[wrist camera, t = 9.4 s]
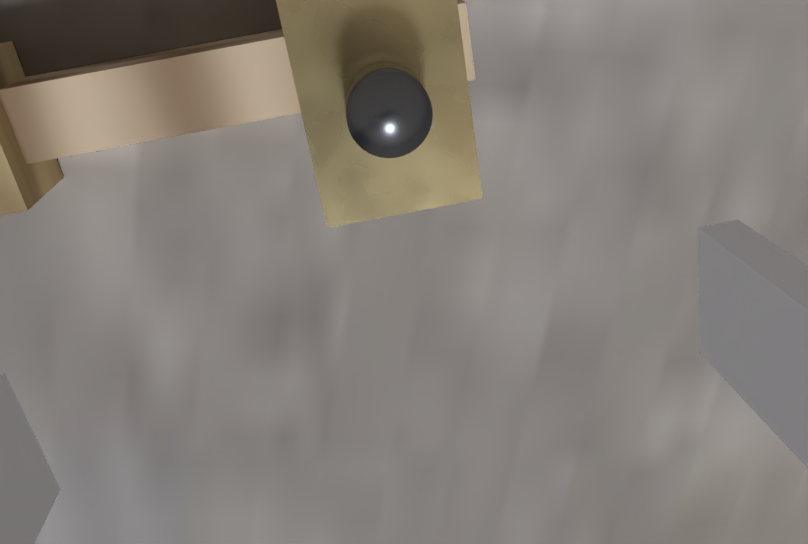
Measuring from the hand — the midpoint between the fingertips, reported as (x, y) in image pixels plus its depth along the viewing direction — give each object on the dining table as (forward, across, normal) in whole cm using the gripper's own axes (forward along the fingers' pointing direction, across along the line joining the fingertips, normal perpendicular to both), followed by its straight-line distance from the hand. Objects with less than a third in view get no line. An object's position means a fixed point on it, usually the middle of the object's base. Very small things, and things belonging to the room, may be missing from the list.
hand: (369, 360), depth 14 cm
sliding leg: (+19, +2, +7) cm, 21 cm away
